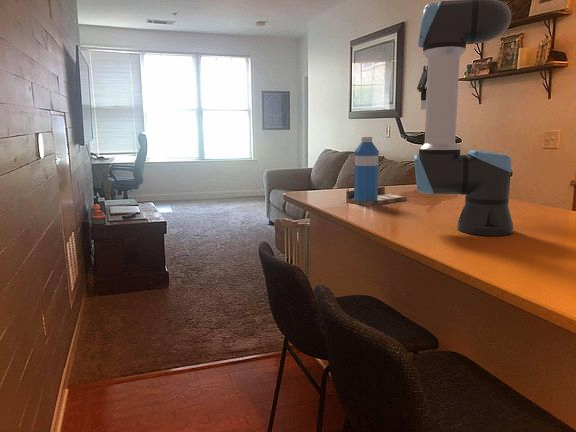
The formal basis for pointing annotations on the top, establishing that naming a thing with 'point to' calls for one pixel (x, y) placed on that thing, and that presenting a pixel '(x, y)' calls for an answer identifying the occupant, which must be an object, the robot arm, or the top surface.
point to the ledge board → (381, 199)
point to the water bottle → (366, 171)
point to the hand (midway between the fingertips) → (435, 109)
